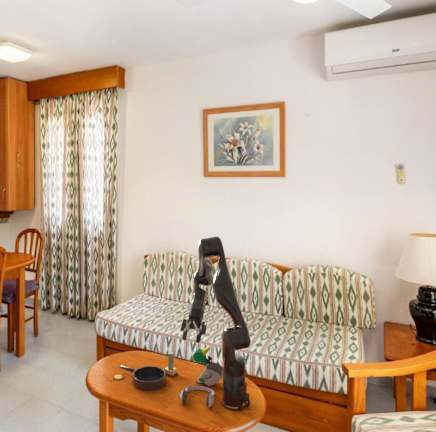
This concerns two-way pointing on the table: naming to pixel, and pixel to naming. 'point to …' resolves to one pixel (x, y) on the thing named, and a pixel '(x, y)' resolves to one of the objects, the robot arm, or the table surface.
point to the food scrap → (118, 376)
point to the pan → (149, 378)
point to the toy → (208, 368)
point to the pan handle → (127, 368)
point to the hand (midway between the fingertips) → (190, 341)
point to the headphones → (209, 397)
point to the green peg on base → (170, 366)
